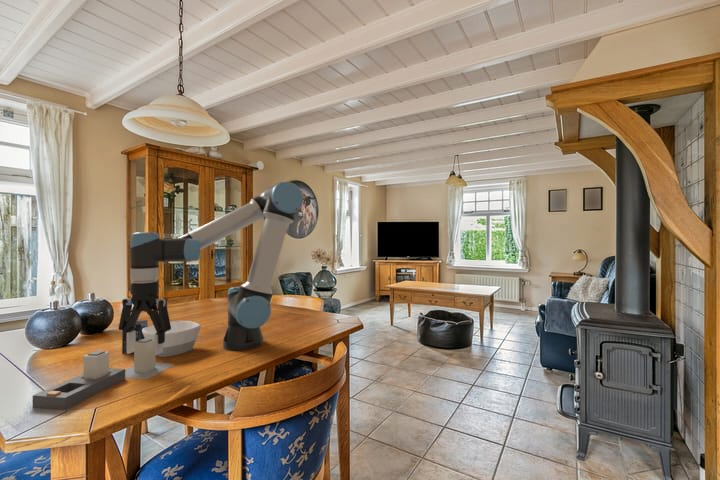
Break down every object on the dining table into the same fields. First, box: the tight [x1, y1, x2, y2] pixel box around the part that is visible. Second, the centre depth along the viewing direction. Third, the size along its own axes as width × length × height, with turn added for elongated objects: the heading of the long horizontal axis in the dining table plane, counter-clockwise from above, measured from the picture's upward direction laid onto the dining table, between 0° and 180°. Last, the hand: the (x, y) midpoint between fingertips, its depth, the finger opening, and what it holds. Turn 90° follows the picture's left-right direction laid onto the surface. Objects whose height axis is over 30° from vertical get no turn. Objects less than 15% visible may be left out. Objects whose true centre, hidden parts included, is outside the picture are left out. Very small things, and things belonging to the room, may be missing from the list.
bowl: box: [142, 320, 201, 358], centre depth 125 cm, size 18×18×9 cm
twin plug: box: [133, 339, 156, 373], centre depth 107 cm, size 4×4×9 cm
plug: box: [83, 350, 110, 379], centre depth 96 cm, size 4×4×9 cm
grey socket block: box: [32, 367, 126, 411], centre depth 92 cm, size 9×18×4 cm, turn 173°
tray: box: [125, 362, 175, 380], centre depth 107 cm, size 12×12×1 cm
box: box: [121, 319, 149, 354], centre depth 126 cm, size 8×6×11 cm
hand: (144, 352), depth 107 cm, fingers open, 9 cm apart
